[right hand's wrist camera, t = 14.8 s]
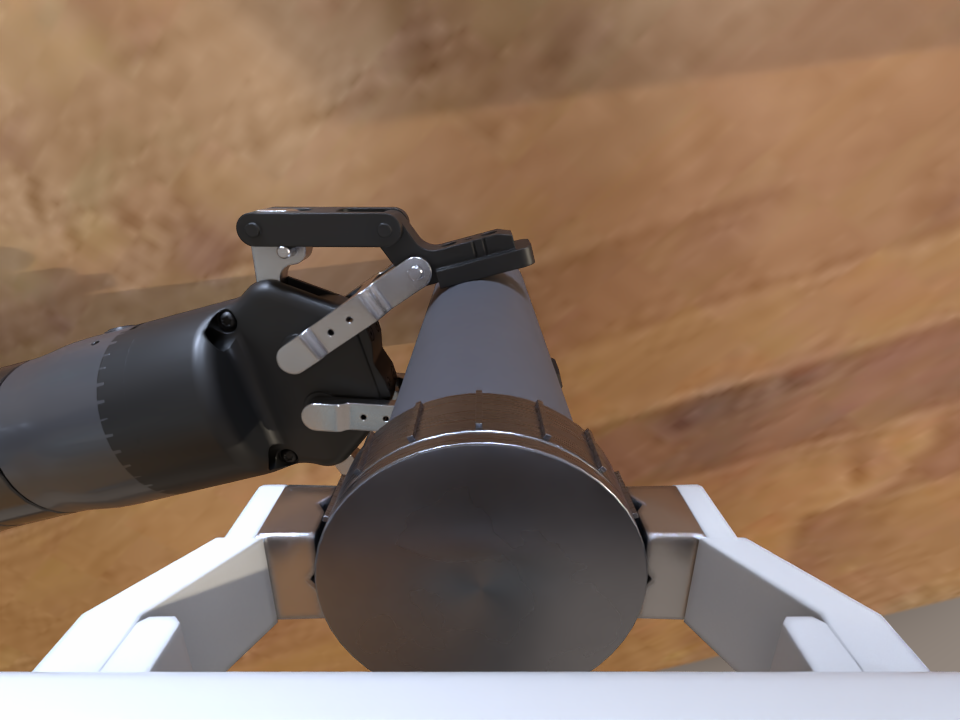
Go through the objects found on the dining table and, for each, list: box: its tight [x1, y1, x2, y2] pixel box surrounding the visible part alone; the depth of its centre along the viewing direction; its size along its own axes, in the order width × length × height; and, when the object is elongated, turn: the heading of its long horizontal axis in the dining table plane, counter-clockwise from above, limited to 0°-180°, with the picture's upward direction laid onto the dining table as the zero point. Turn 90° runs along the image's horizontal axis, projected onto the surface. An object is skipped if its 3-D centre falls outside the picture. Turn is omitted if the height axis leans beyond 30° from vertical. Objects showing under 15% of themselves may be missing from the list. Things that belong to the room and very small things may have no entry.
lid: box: [315, 390, 648, 672], centre depth 10 cm, size 6×6×2 cm
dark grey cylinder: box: [389, 269, 573, 421], centre depth 18 cm, size 5×5×20 cm
